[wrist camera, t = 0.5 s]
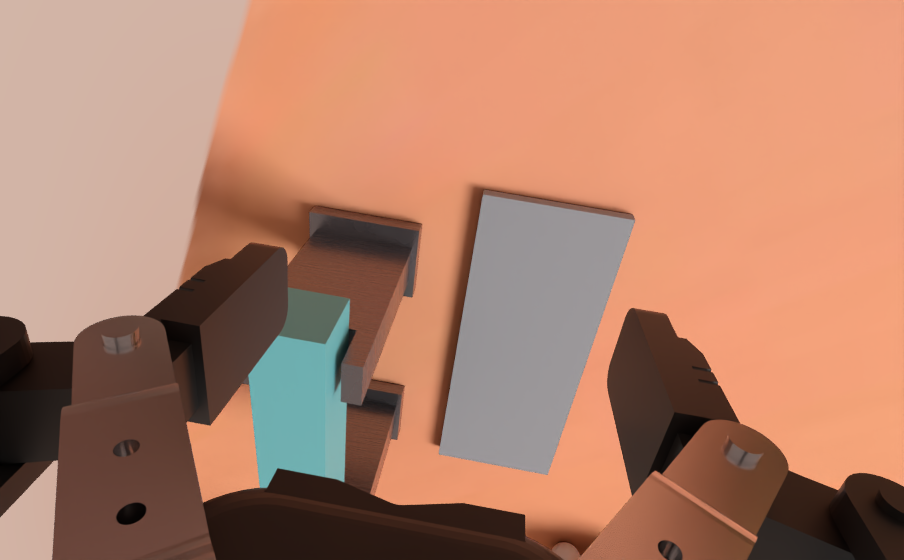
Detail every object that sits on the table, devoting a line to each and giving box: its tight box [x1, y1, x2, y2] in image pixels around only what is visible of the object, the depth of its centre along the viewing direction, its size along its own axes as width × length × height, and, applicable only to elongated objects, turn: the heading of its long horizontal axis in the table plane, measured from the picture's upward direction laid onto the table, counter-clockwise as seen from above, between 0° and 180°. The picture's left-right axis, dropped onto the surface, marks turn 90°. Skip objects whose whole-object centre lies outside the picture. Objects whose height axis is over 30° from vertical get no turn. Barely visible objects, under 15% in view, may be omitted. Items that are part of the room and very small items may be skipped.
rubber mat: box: [439, 190, 635, 475], centre depth 37 cm, size 23×9×1 cm, turn 173°
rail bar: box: [248, 287, 350, 488], centre depth 29 cm, size 20×4×4 cm, turn 173°
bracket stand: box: [243, 206, 422, 495], centre depth 33 cm, size 19×7×12 cm, turn 173°
